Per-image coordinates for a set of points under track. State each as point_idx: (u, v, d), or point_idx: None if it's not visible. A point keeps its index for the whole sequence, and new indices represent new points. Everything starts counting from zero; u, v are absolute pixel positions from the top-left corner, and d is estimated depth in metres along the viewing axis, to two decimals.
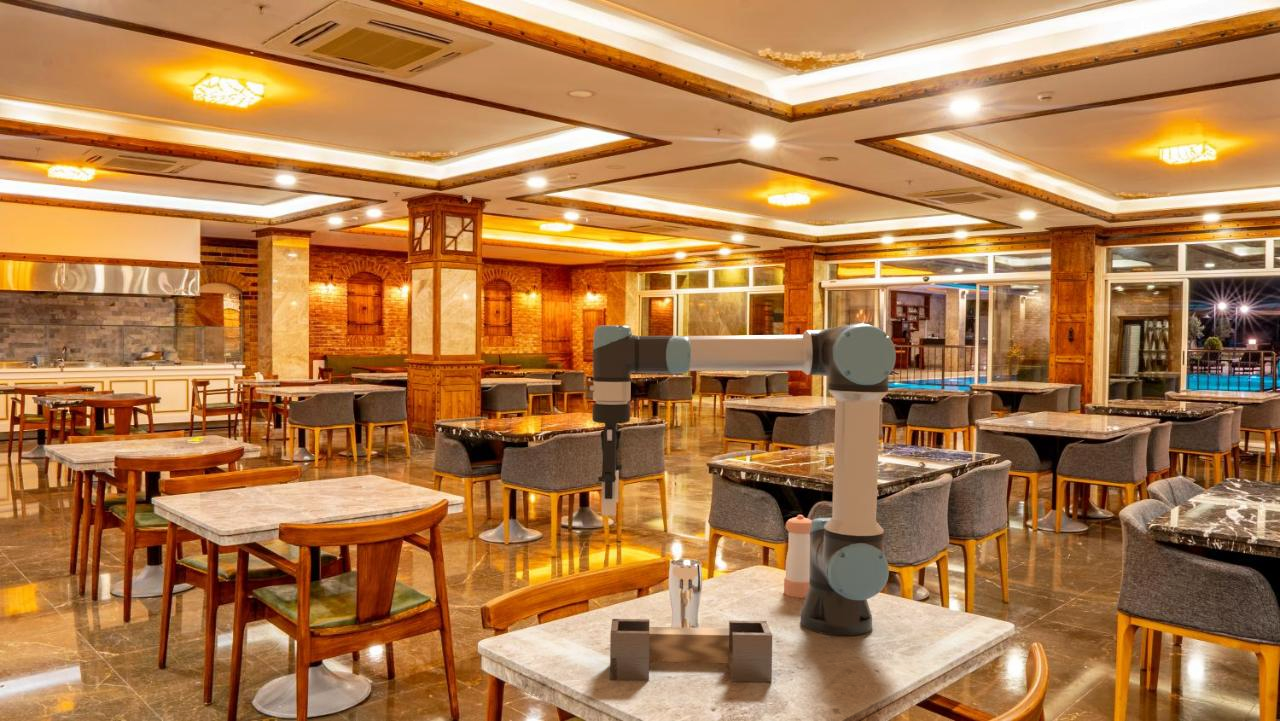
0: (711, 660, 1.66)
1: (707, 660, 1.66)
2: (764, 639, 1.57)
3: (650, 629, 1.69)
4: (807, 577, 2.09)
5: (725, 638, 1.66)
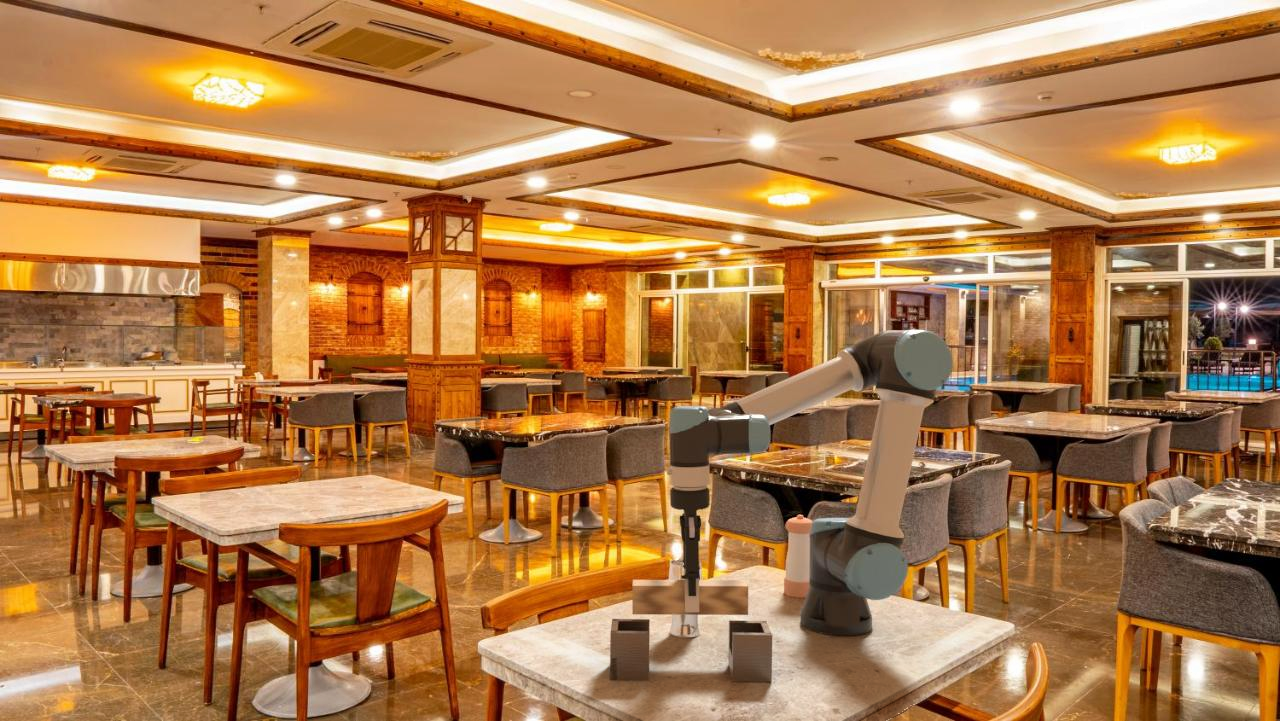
0: (713, 611, 1.66)
1: (709, 611, 1.66)
2: (764, 639, 1.57)
3: (652, 582, 1.69)
4: (807, 577, 2.09)
5: (727, 589, 1.66)
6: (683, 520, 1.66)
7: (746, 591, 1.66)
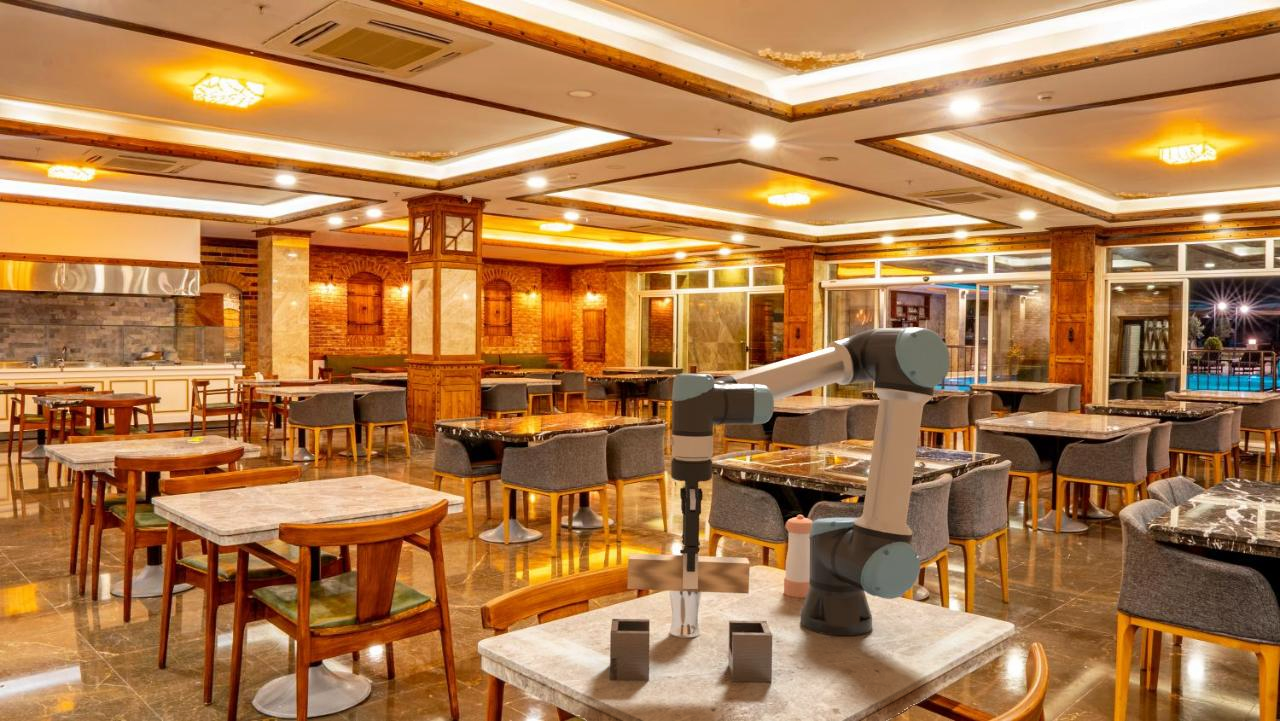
0: (712, 588, 1.59)
1: (708, 588, 1.59)
2: (764, 639, 1.57)
3: (649, 556, 1.61)
4: (807, 577, 2.09)
5: (727, 566, 1.59)
6: (684, 492, 1.59)
7: (747, 568, 1.58)
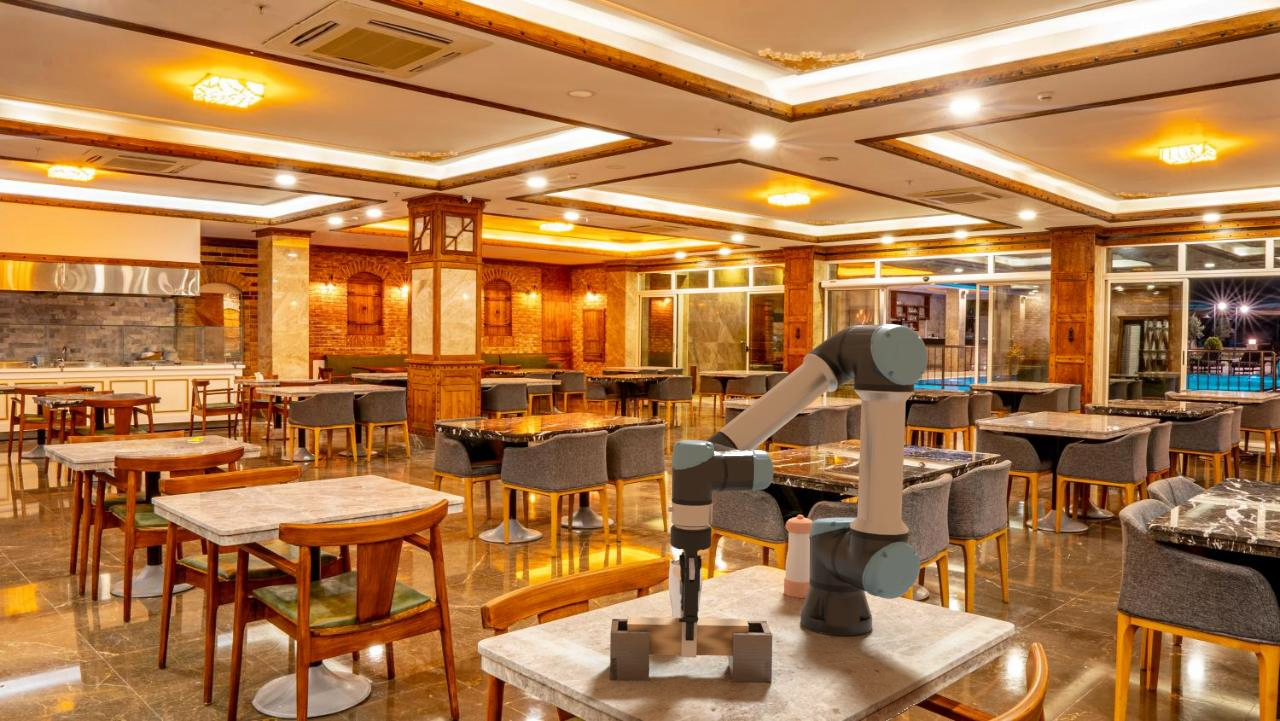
0: (712, 652, 1.59)
1: (707, 652, 1.59)
2: (764, 639, 1.57)
3: (648, 620, 1.61)
4: (807, 577, 2.09)
5: (726, 629, 1.59)
6: (683, 560, 1.59)
7: (746, 631, 1.59)
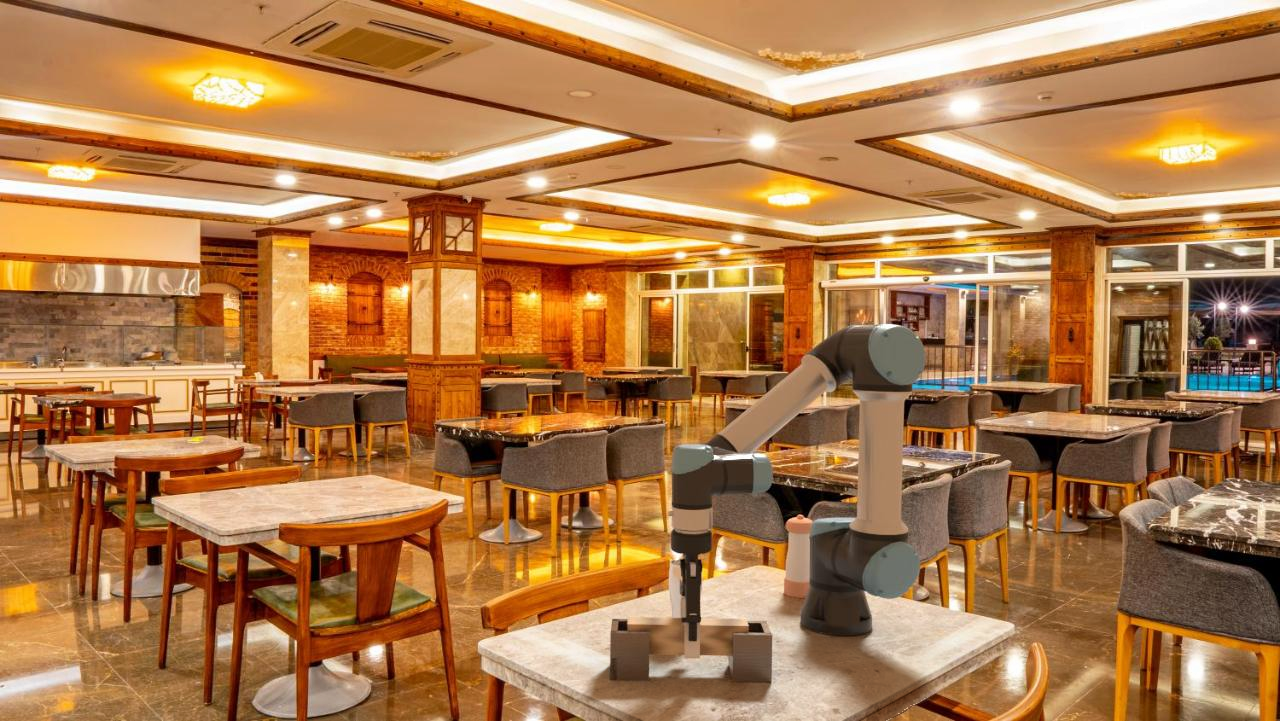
0: (712, 652, 1.59)
1: (707, 652, 1.59)
2: (764, 639, 1.57)
3: (648, 620, 1.61)
4: (807, 577, 2.09)
5: (726, 629, 1.59)
6: (684, 563, 1.59)
7: (746, 631, 1.59)
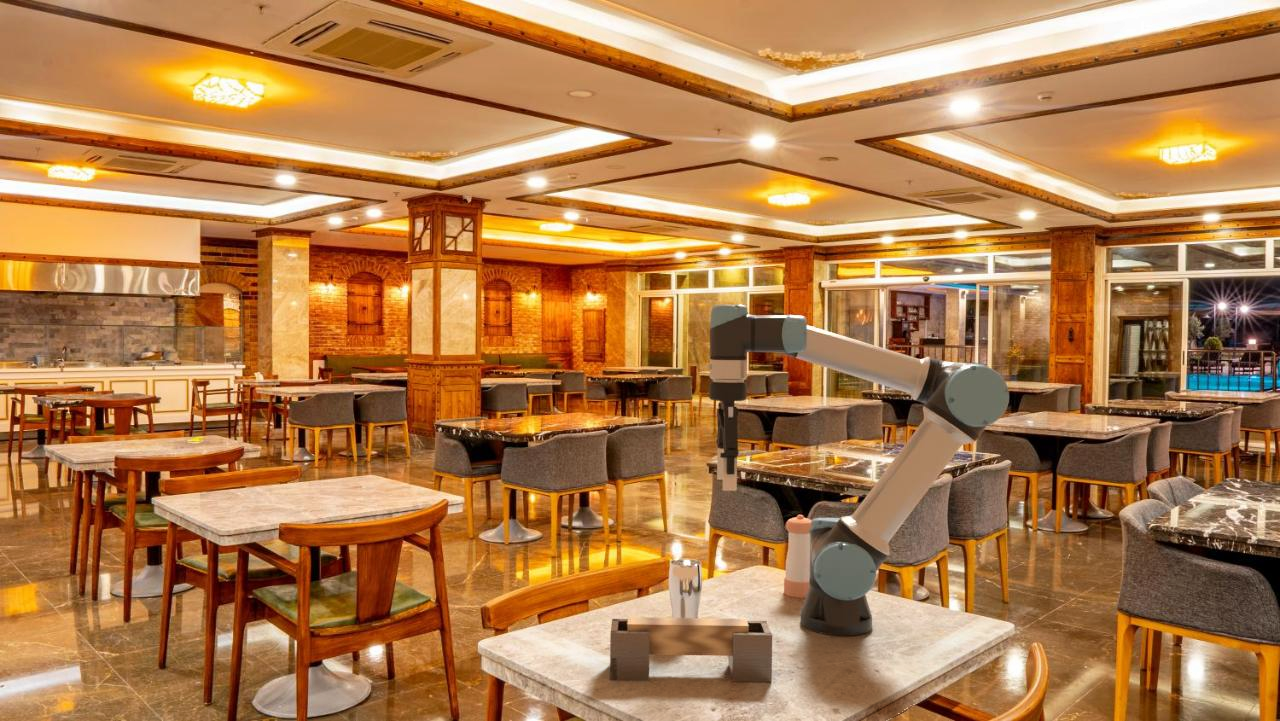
0: (712, 652, 1.59)
1: (707, 652, 1.59)
2: (764, 639, 1.57)
3: (648, 620, 1.61)
4: (807, 577, 2.09)
5: (726, 629, 1.59)
6: (721, 410, 1.77)
7: (746, 631, 1.59)
